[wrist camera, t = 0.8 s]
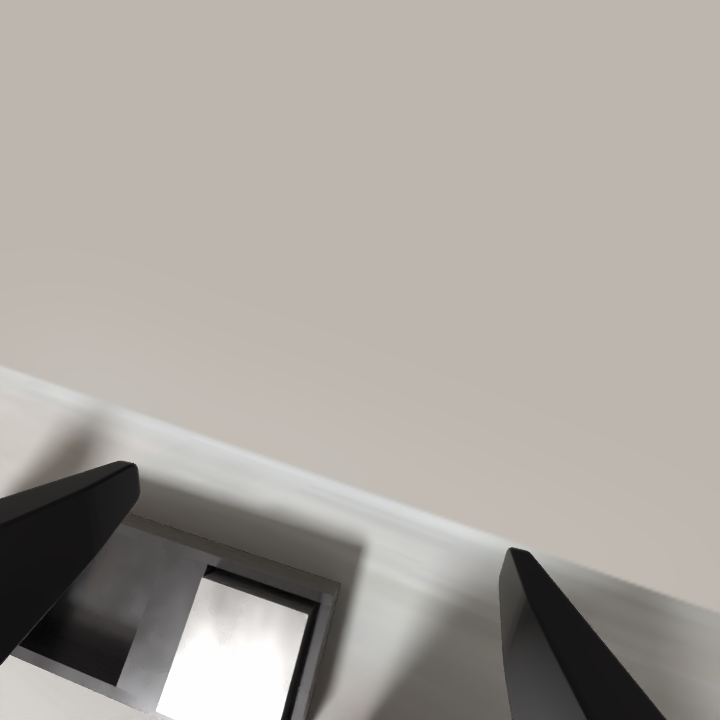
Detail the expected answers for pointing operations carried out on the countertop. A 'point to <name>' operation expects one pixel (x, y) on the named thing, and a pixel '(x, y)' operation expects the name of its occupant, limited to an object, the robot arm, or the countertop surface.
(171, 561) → the two-slot holder tray
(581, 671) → the robot arm
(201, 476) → the countertop surface
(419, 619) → the countertop surface
